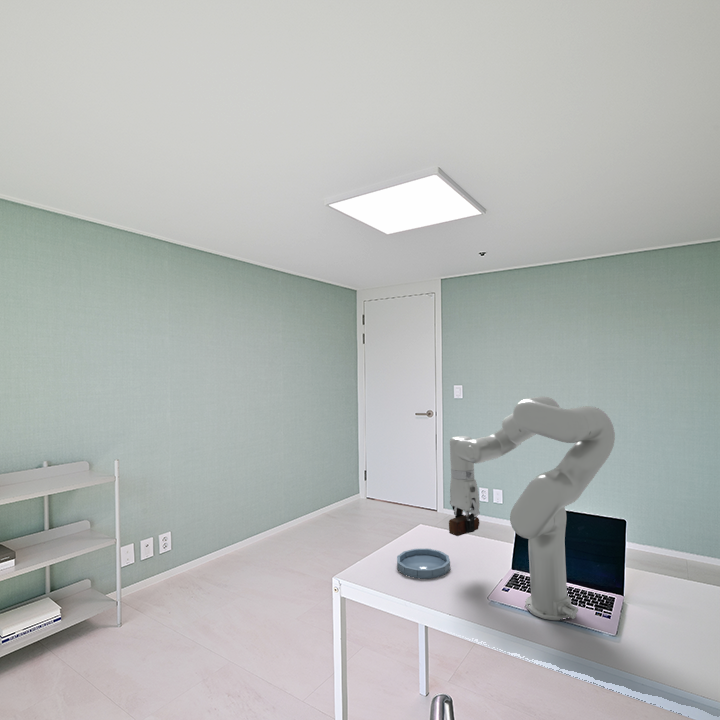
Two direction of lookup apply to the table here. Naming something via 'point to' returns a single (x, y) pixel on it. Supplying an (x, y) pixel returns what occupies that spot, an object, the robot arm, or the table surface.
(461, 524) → the brick
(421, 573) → the dish
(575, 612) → the robot arm
